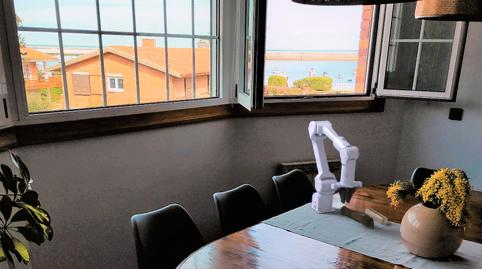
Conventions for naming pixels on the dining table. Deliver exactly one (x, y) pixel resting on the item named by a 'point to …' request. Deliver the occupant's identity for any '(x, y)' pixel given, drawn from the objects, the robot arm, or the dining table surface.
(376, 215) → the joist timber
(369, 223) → the hand tool
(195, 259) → the dining table surface
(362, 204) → the dining table surface
